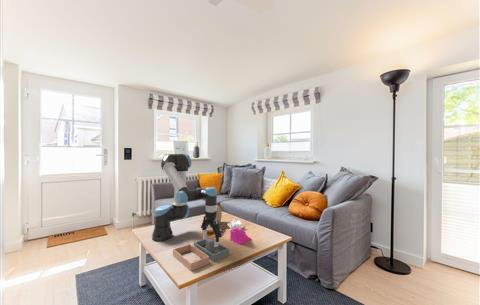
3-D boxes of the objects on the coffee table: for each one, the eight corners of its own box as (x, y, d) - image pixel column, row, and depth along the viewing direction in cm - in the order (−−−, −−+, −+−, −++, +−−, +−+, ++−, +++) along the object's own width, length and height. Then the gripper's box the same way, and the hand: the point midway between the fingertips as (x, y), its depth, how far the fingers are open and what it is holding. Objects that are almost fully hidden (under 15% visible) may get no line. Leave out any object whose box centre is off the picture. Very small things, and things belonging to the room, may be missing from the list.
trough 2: (193, 248, 145) (193, 242, 145) (208, 243, 153) (208, 237, 153) (213, 261, 128) (213, 255, 128) (228, 255, 136) (228, 248, 136)
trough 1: (172, 255, 135) (172, 249, 135) (190, 249, 143) (190, 243, 143) (190, 270, 118) (190, 263, 118) (209, 263, 126) (209, 256, 126)
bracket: (240, 245, 151) (240, 230, 151) (230, 240, 158) (230, 227, 158) (251, 240, 159) (251, 226, 159) (241, 236, 167) (241, 223, 166)
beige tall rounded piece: (212, 221, 201) (212, 197, 201) (221, 222, 199) (221, 197, 199) (204, 227, 185) (204, 201, 185) (214, 228, 182) (214, 201, 182)
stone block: (205, 251, 141) (205, 239, 140) (211, 249, 144) (211, 237, 144) (209, 254, 137) (209, 242, 137) (216, 251, 140) (216, 239, 140)
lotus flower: (226, 226, 188) (226, 216, 188) (243, 226, 188) (243, 216, 188) (225, 232, 174) (225, 221, 174) (244, 232, 174) (244, 222, 174)
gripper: (196, 207, 147) (195, 238, 147) (217, 216, 129) (216, 251, 129) (205, 206, 152) (205, 235, 152) (227, 214, 134) (226, 247, 134)
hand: (210, 242), depth 141 cm, fingers open, 13 cm apart
